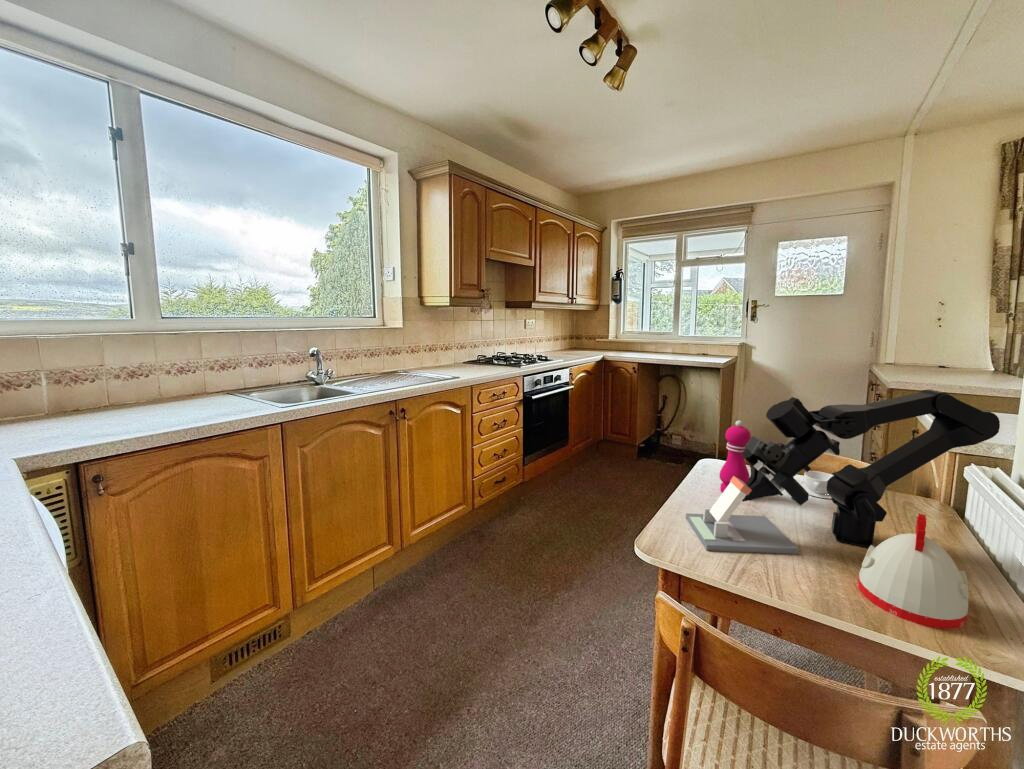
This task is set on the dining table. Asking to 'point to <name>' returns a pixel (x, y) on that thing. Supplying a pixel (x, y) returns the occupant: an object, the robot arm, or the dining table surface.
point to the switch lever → (729, 500)
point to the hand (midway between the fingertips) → (740, 499)
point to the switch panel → (740, 534)
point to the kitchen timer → (915, 580)
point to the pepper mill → (735, 455)
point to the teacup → (816, 483)
